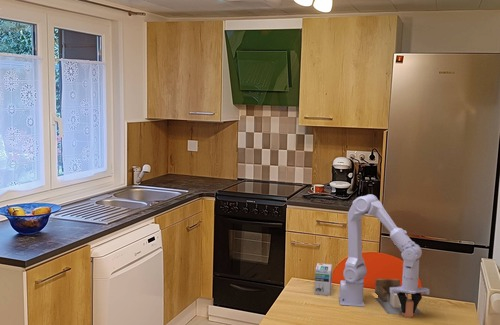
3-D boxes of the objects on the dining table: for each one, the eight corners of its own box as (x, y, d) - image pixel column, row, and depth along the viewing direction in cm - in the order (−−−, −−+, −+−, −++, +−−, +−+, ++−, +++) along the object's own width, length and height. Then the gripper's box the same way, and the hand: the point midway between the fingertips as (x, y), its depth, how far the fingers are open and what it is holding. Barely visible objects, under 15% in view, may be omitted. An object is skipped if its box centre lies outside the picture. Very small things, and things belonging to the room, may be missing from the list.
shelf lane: (387, 314, 205) (388, 298, 204) (369, 292, 230) (370, 278, 229) (423, 314, 206) (424, 299, 205) (402, 293, 231) (402, 278, 230)
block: (402, 317, 202) (403, 301, 202) (389, 303, 217) (390, 288, 216) (415, 317, 202) (416, 301, 202) (402, 303, 217) (402, 288, 217)
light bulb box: (330, 296, 224) (331, 270, 223) (313, 294, 225) (315, 269, 224) (331, 288, 234) (332, 263, 233) (316, 286, 235) (317, 262, 234)
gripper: (394, 280, 198) (392, 315, 199) (433, 280, 198) (431, 316, 200) (388, 274, 205) (386, 308, 206) (426, 274, 205) (423, 309, 207)
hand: (408, 312), depth 203 cm, fingers closed on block, 3 cm apart
